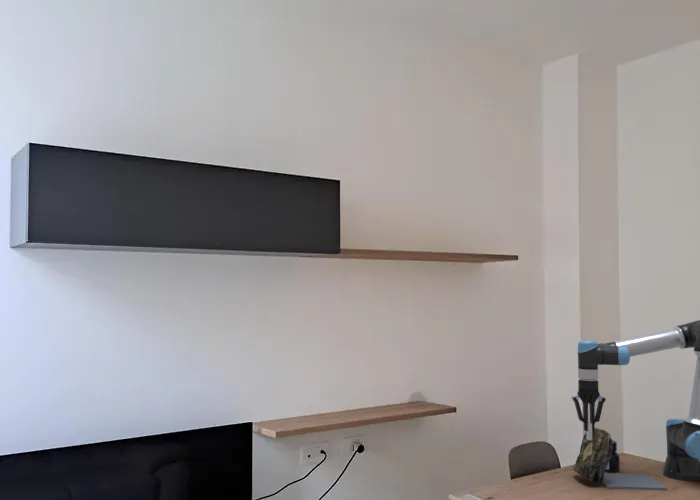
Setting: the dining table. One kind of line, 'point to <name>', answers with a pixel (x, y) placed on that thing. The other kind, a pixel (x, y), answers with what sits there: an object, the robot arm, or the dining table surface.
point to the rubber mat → (631, 481)
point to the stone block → (594, 455)
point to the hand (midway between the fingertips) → (589, 439)
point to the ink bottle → (613, 460)
